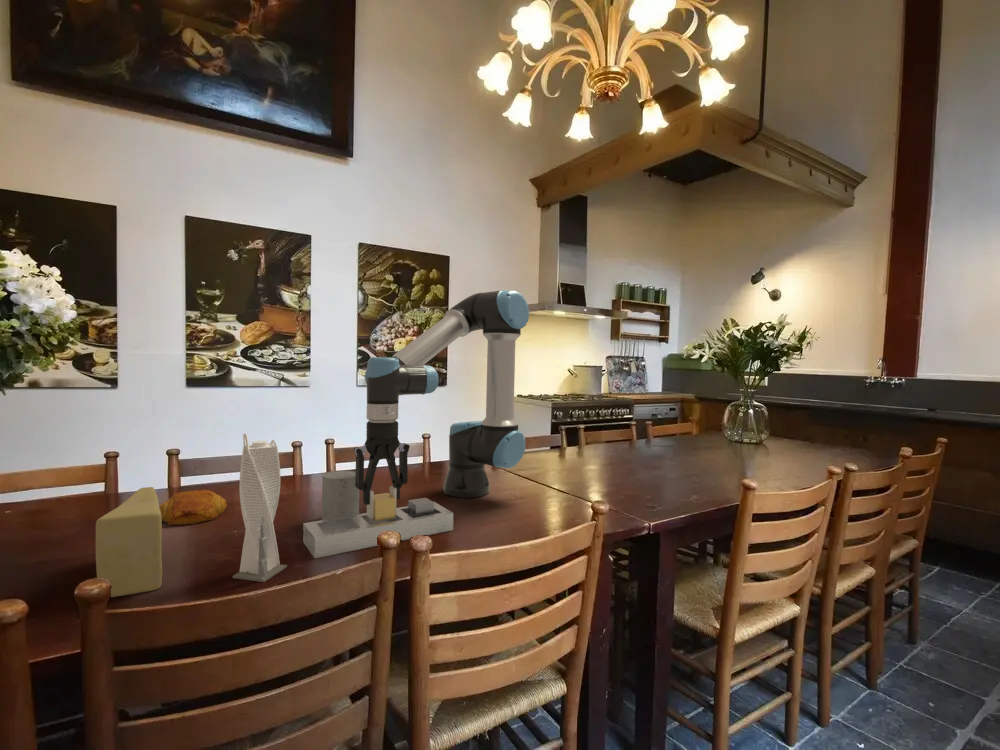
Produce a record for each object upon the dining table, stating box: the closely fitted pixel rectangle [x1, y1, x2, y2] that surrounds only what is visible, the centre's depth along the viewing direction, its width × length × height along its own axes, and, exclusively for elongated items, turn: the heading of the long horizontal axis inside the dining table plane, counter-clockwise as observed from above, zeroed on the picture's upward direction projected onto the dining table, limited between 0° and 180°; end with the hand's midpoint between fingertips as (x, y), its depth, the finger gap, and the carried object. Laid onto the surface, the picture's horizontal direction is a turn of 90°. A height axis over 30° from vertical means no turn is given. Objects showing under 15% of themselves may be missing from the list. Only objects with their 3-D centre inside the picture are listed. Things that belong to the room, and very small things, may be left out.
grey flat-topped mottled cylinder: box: [321, 469, 360, 520], centre depth 132 cm, size 10×10×12 cm
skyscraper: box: [232, 433, 288, 583], centre depth 99 cm, size 8×8×28 cm
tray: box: [302, 497, 454, 559], centre depth 120 cm, size 11×34×7 cm, turn 124°
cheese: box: [95, 486, 163, 598], centre depth 98 cm, size 22×10×15 cm, turn 27°
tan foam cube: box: [372, 492, 395, 521], centre depth 120 cm, size 5×5×5 cm
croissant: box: [159, 489, 228, 526], centre depth 131 cm, size 14×16×8 cm
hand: (381, 514), depth 120 cm, fingers open, 5 cm apart
